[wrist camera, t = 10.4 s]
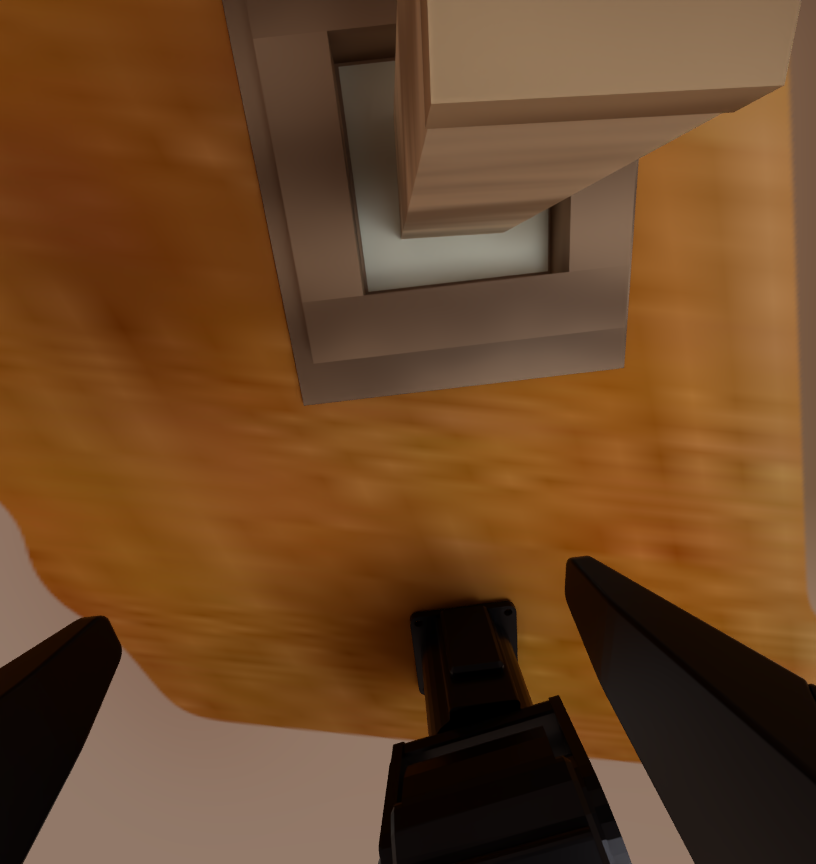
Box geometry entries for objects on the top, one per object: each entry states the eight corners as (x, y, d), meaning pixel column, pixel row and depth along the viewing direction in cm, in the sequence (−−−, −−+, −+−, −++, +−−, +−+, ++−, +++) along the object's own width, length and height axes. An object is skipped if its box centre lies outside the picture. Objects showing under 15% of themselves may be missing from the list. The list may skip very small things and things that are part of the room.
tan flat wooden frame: (619, 366, 20) (648, 375, 18) (305, 403, 20) (295, 417, 18) (652, -132, 14) (702, -212, 12) (207, -86, 14) (173, -159, 12)
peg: (504, 234, 17) (784, 85, 5) (399, 240, 17) (430, 103, 5) (506, 107, 16) (908, -531, 4) (391, 113, 16) (408, -528, 4)
